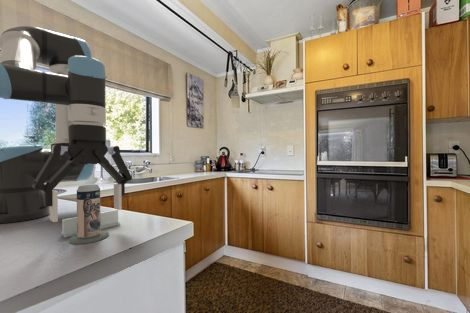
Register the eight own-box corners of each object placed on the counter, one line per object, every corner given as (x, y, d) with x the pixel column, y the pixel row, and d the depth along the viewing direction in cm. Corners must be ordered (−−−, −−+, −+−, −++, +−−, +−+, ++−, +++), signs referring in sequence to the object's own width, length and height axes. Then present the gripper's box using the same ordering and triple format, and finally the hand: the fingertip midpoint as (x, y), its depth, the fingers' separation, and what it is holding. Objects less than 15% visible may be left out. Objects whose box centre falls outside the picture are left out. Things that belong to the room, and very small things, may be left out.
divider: (61, 235, 58) (60, 218, 58) (114, 222, 68) (114, 209, 68) (65, 237, 56) (64, 220, 56) (119, 224, 66) (119, 210, 66)
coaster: (63, 239, 55) (63, 237, 55) (100, 230, 61) (100, 228, 61) (76, 247, 50) (75, 245, 50) (114, 236, 56) (114, 234, 56)
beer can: (89, 240, 52) (89, 187, 52) (71, 239, 53) (71, 186, 53) (105, 233, 57) (104, 184, 57) (88, 232, 58) (88, 184, 58)
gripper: (20, 117, 43) (22, 231, 43) (144, 128, 63) (145, 206, 63) (12, 120, 48) (14, 223, 48) (130, 130, 67) (131, 203, 68)
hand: (88, 214), depth 56 cm, fingers open, 13 cm apart
